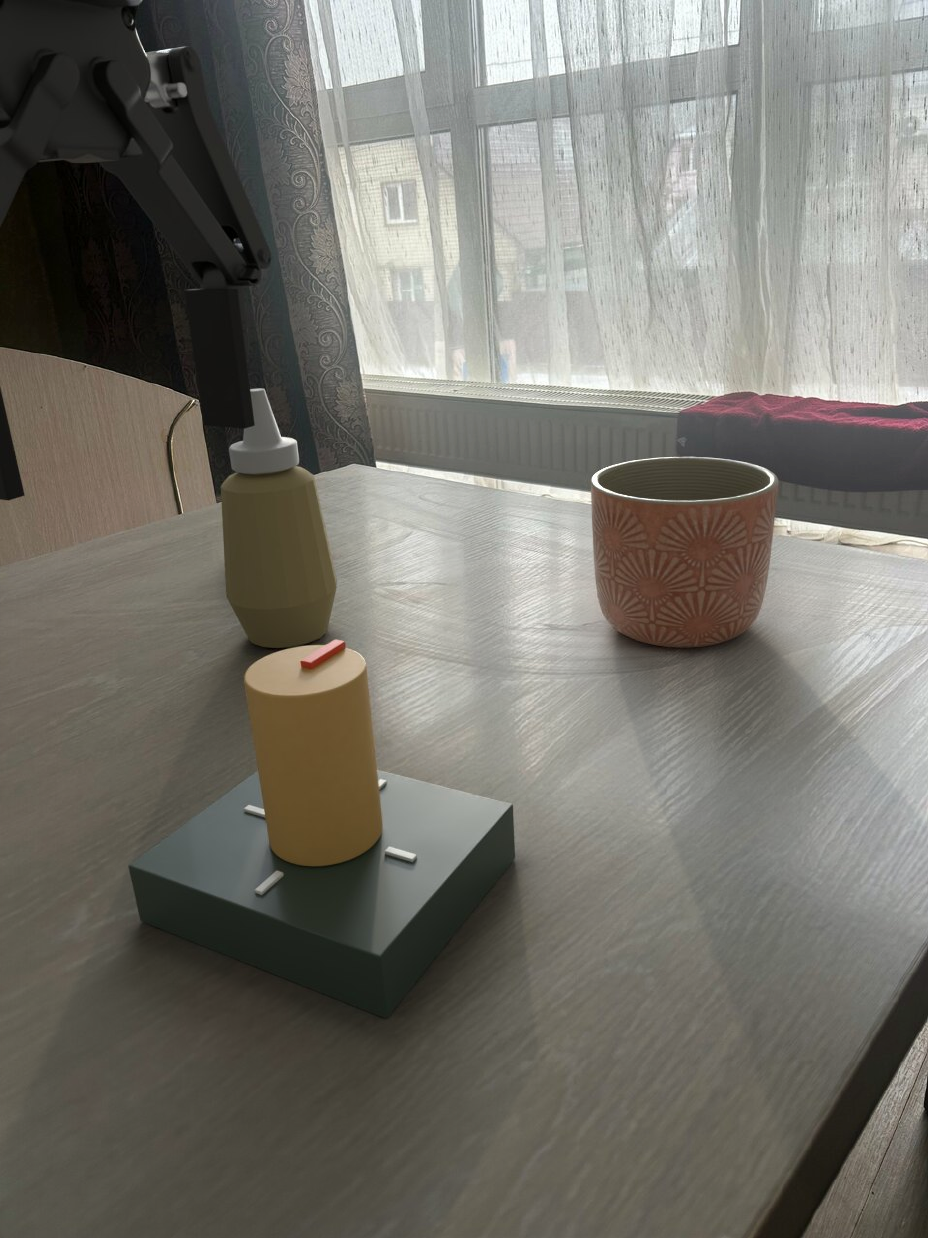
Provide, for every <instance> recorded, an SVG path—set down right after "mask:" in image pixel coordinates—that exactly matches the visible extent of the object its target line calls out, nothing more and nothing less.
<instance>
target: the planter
mask: <svg viewBox="0 0 928 1238" xmlns="http://www.w3.org/2000/svg"><path fill="white" fill-rule="evenodd" d="M778 490H779V479H778V476H777V475H776V473H774V472H772V471H771V470H769V469H768V468H765V467H763V466H759V465H756V464H753V463H749V462H744V461H739V460H734V459H725V458H718V457H717V458H715V457H701V456H698V457H697V456H673V457H672V456H670V457H653V458H645V459H637V460H630V461H626V462H621V463H617V464H613V465H610V466H608V467H605V468H603V469H601V470H599V471H597V472H596V473H595V474H594V475H593V476H592V477H591V479H590V501H591V525H592V527H591V529H592V530H591V531H592V546H593V547H592V550H593V551H592V552H593V566H594V579H595V586H596V595H597V599H598V604H599V608H600V610H601V613H602V615H603V617H604V618H605V620H606V621H607V622H608V624H609V625H610V626H611V627H612V628H613V629H615V630H616V631H617V632H619V633H620V634H622V635H624V636H626V637H627V638H630V639H632V640H634V641H638V642H641V643H644V644H648V645H653V646H658V647H666V648H681V649H682V648H687V649H688V648H702V647H708V646H713V645H717V644H721V643H725V642H728V641H730V640H733V639H734V638H736V637H739V636H740V635H741V634H743V633H745V632H747V630H748V629H749V628H750V627H751V626H752V625H753V624H754V623H755V621H756V620H757V618H758V617H759V614H760V612H761V609H762V606H763V603H764V598H765V595H766V590H767V585H768V579H769V572H770V564H771V557H772V549H773V548H772V547H773V541H774V540H773V539H774V531H775V520H776V513H777V512H776V510H777V503H778V501H777V500H778V492H779V491H778Z"/></svg>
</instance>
